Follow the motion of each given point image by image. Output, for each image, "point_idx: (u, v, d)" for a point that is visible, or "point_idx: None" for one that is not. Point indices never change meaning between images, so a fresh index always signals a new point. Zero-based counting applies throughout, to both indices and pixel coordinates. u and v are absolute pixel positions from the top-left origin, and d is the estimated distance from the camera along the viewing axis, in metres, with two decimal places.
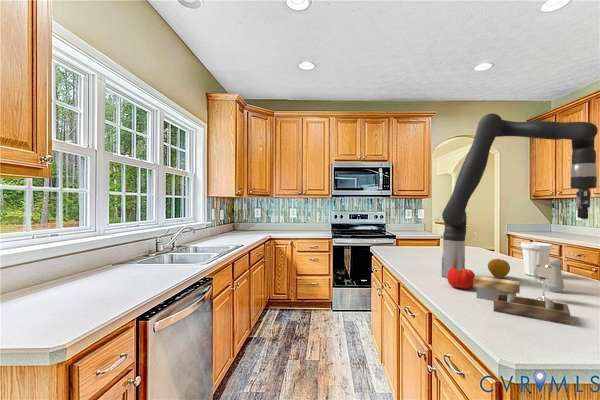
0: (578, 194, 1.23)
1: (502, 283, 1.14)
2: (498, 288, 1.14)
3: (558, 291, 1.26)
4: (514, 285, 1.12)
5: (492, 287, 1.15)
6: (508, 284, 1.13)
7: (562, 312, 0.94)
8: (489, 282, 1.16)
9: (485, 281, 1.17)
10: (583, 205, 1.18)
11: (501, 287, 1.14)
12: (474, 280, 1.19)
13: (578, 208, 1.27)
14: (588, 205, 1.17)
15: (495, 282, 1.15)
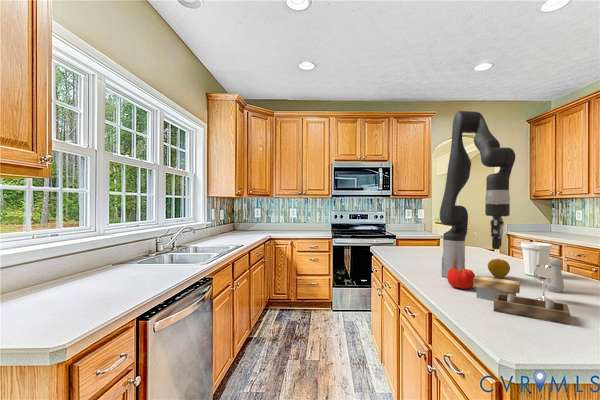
0: None
1: (502, 283, 1.14)
2: (498, 288, 1.14)
3: (558, 291, 1.26)
4: (514, 285, 1.12)
5: (492, 287, 1.15)
6: (508, 284, 1.13)
7: (562, 312, 0.94)
8: (489, 282, 1.16)
9: (485, 281, 1.17)
10: (493, 235, 1.11)
11: (501, 287, 1.14)
12: (474, 280, 1.19)
13: None
14: (498, 235, 1.11)
15: (495, 282, 1.15)
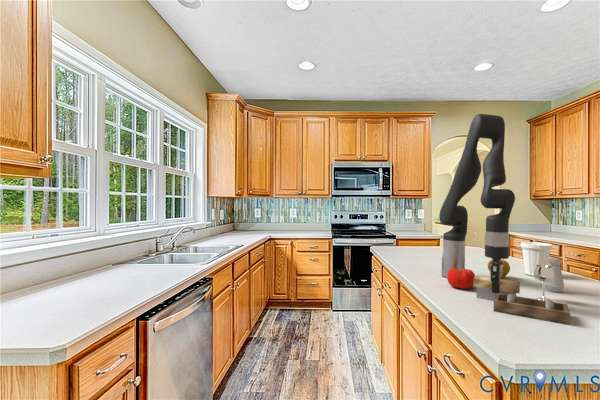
0: (491, 264, 1.16)
1: (502, 283, 1.14)
2: None
3: (558, 291, 1.26)
4: (514, 285, 1.12)
5: None
6: (508, 284, 1.13)
7: (562, 312, 0.94)
8: (489, 282, 1.16)
9: (485, 281, 1.17)
10: (493, 280, 1.13)
11: (501, 287, 1.14)
12: (474, 280, 1.19)
13: None
14: (497, 281, 1.12)
15: None
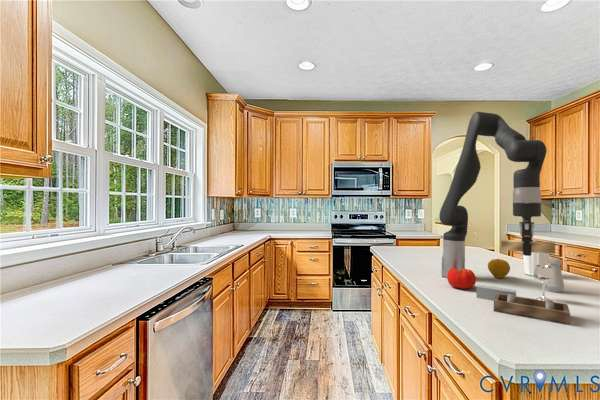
0: (521, 224, 1.04)
1: (535, 244, 1.01)
2: None
3: (558, 291, 1.26)
4: (549, 245, 0.99)
5: None
6: (542, 244, 1.00)
7: (562, 312, 0.94)
8: (519, 244, 1.03)
9: (514, 242, 1.04)
10: (524, 240, 1.00)
11: (533, 248, 1.01)
12: (502, 243, 1.06)
13: None
14: (530, 240, 0.99)
15: None
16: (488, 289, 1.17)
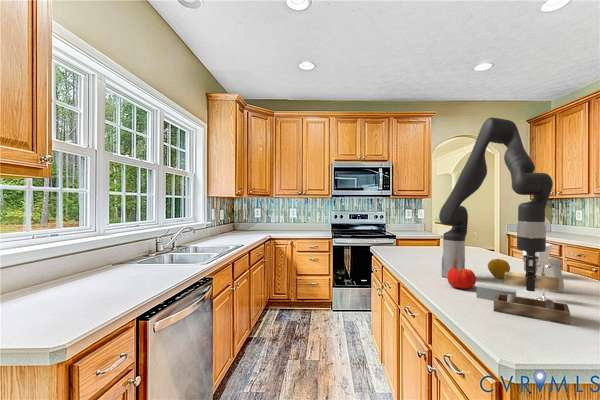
0: (524, 258, 1.02)
1: (539, 279, 1.00)
2: None
3: (558, 291, 1.26)
4: (553, 282, 0.98)
5: None
6: (546, 281, 0.99)
7: (562, 312, 0.94)
8: (523, 278, 1.02)
9: (518, 277, 1.03)
10: (528, 276, 0.99)
11: (537, 284, 1.00)
12: (505, 276, 1.05)
13: None
14: (534, 277, 0.98)
15: None
16: (488, 289, 1.17)
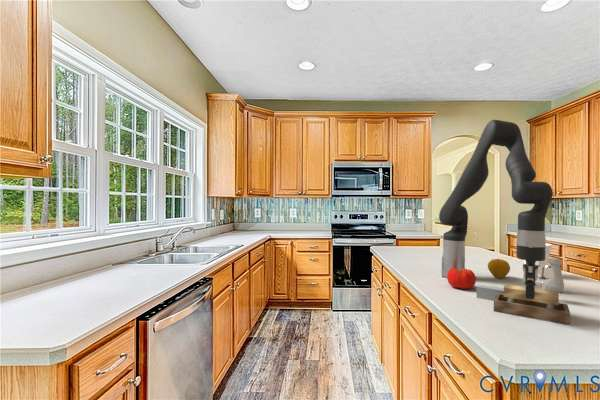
0: (524, 267, 1.02)
1: (538, 293, 1.00)
2: (533, 299, 1.00)
3: (558, 291, 1.26)
4: (552, 296, 0.98)
5: (526, 298, 1.02)
6: (545, 295, 0.99)
7: (562, 312, 0.94)
8: (522, 292, 1.02)
9: (517, 290, 1.03)
10: (528, 283, 0.97)
11: (536, 298, 1.00)
12: (504, 289, 1.05)
13: (526, 280, 1.07)
14: (533, 284, 0.97)
15: None
16: (488, 289, 1.17)
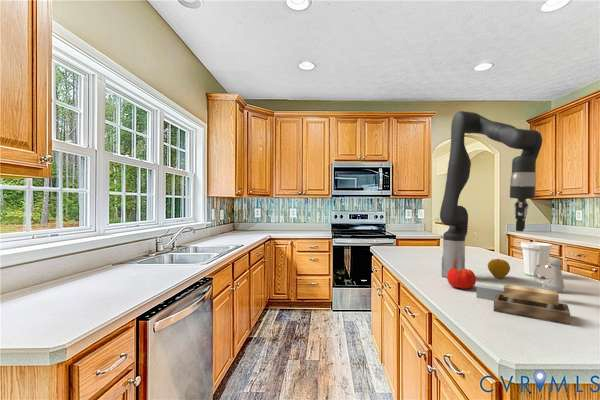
0: (516, 204, 1.16)
1: (538, 293, 1.00)
2: (533, 299, 1.00)
3: (558, 291, 1.26)
4: (552, 296, 0.98)
5: (526, 298, 1.02)
6: (545, 295, 0.99)
7: (562, 312, 0.94)
8: (522, 292, 1.02)
9: (517, 290, 1.03)
10: (517, 217, 1.12)
11: (536, 298, 1.00)
12: (504, 289, 1.05)
13: None
14: (522, 217, 1.11)
15: (529, 292, 1.01)
16: (488, 289, 1.17)
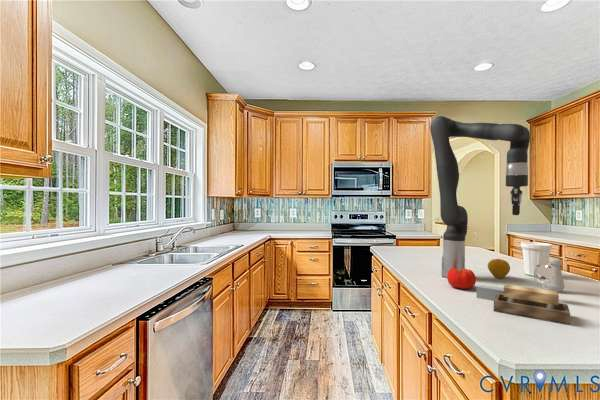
0: (511, 192, 1.30)
1: (538, 293, 1.00)
2: (533, 299, 1.00)
3: (558, 291, 1.26)
4: (552, 296, 0.98)
5: (526, 298, 1.02)
6: (545, 295, 0.99)
7: (562, 312, 0.94)
8: (522, 292, 1.02)
9: (517, 290, 1.03)
10: (513, 202, 1.25)
11: (536, 298, 1.00)
12: (504, 289, 1.05)
13: (513, 205, 1.35)
14: (518, 202, 1.25)
15: (529, 292, 1.01)
16: (488, 289, 1.17)
